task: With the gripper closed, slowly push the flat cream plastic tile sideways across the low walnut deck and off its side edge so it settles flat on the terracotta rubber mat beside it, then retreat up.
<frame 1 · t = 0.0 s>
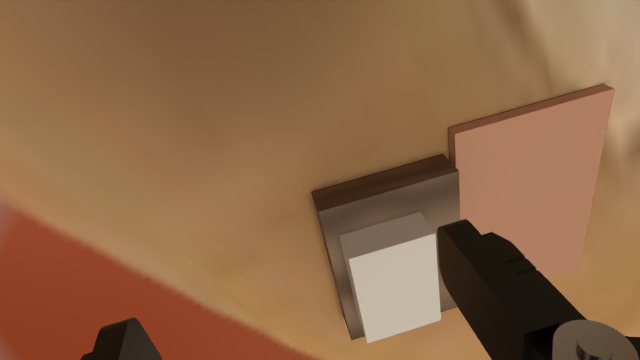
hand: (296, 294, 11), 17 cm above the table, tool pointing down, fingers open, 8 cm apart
terracotta mat: (519, 204, 35), on the table
cream tile: (387, 268, 32), point 2 cm above the table, touching walnut deck
walnut deck: (388, 243, 34), on the table
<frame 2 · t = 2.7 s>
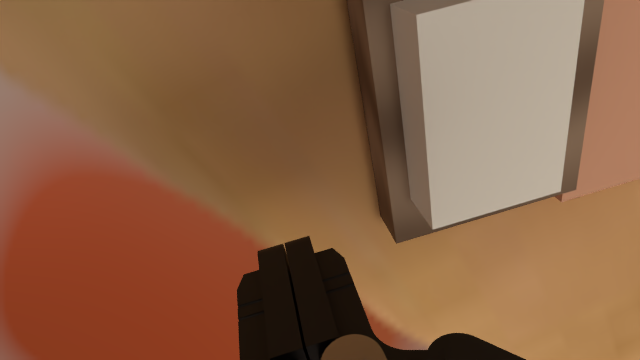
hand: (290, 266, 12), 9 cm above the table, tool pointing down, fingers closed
cream tile: (467, 95, 18), point 2 cm above the table, touching walnut deck
walnut deck: (461, 73, 20), on the table
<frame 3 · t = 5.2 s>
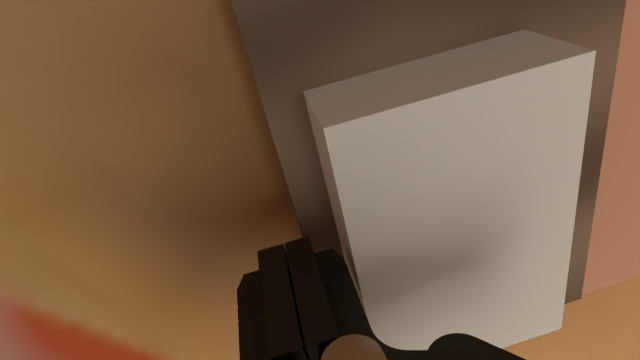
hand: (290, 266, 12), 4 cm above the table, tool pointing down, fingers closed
cream tile: (429, 201, 13), point 2 cm above the table, touching gripper, walnut deck
walnut deck: (424, 157, 15), on the table
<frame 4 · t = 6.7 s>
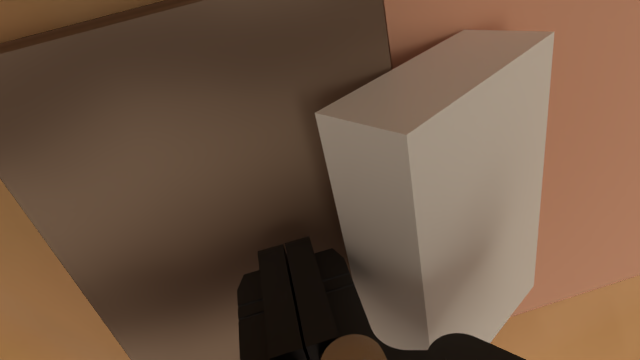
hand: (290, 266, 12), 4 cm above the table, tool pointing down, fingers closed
terracotta mat: (549, 118, 16), on the table
cream tile: (415, 206, 13), point 3 cm above the table, tilted 31°, touching terracotta mat
walnut deck: (248, 207, 15), on the table
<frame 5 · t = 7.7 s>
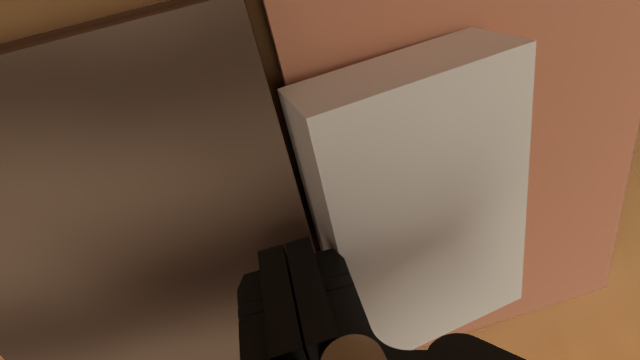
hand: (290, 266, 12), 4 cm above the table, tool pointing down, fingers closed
terracotta mat: (469, 143, 15), on the table
cream tile: (396, 189, 14), point 1 cm above the table, tilted 8°, touching gripper
walnut deck: (160, 234, 15), on the table
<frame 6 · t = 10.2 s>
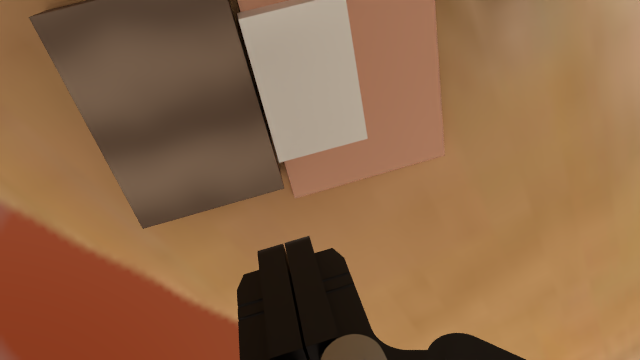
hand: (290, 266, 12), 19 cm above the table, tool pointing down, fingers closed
terracotta mat: (347, 57, 29), on the table
cream tile: (302, 73, 27), point 1 cm above the table, touching terracotta mat
walnut deck: (179, 102, 28), on the table
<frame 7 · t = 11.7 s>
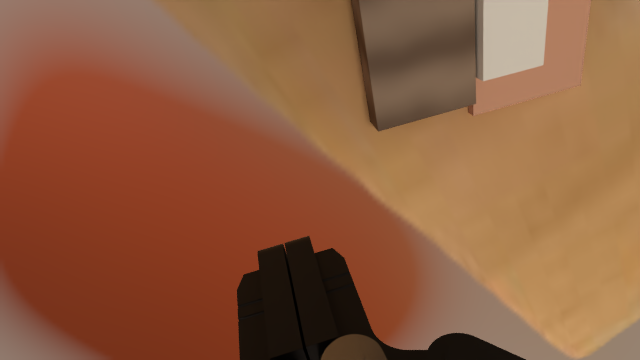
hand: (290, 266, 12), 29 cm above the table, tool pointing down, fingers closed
terracotta mat: (525, 8, 40), on the table
cream tile: (499, 18, 39), point 1 cm above the table, touching terracotta mat
walnut deck: (410, 39, 39), on the table
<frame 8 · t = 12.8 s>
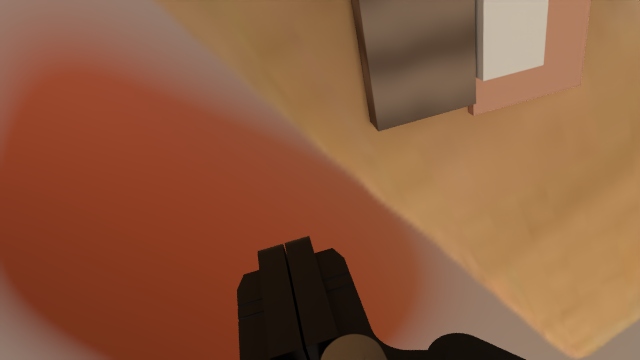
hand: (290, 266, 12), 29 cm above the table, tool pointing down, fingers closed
terracotta mat: (525, 8, 40), on the table
cream tile: (499, 18, 39), point 1 cm above the table, touching terracotta mat
walnut deck: (411, 39, 39), on the table
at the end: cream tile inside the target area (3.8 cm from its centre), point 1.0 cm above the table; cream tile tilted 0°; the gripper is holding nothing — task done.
